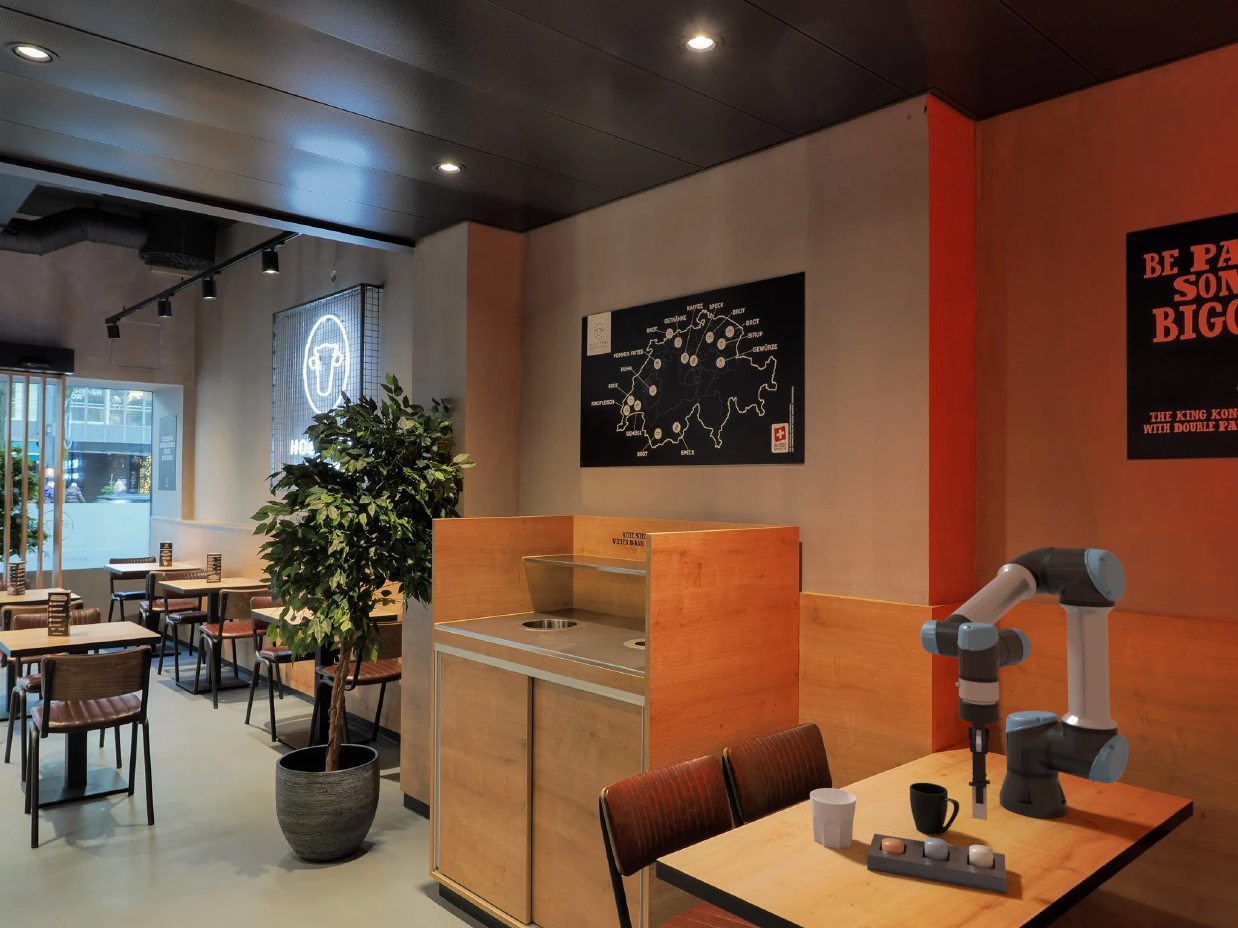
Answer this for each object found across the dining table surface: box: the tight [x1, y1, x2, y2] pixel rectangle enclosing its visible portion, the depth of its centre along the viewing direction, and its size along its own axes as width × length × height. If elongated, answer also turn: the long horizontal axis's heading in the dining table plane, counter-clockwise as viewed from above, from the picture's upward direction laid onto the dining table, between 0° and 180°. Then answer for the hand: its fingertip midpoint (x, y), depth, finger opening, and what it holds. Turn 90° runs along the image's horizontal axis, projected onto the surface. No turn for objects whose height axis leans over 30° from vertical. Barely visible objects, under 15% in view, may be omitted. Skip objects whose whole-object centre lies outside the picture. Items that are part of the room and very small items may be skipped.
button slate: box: [924, 837, 948, 861], centre depth 173 cm, size 4×4×4 cm
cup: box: [809, 787, 857, 850], centre depth 187 cm, size 10×10×10 cm
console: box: [866, 833, 1007, 895], centre depth 173 cm, size 26×12×3 cm, turn 66°
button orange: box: [882, 838, 904, 854], centre depth 177 cm, size 4×4×4 cm
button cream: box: [968, 844, 994, 869], centre depth 170 cm, size 4×4×4 cm
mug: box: [909, 782, 960, 836], centre depth 192 cm, size 8×12×10 cm
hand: (979, 817), depth 170 cm, fingers closed
